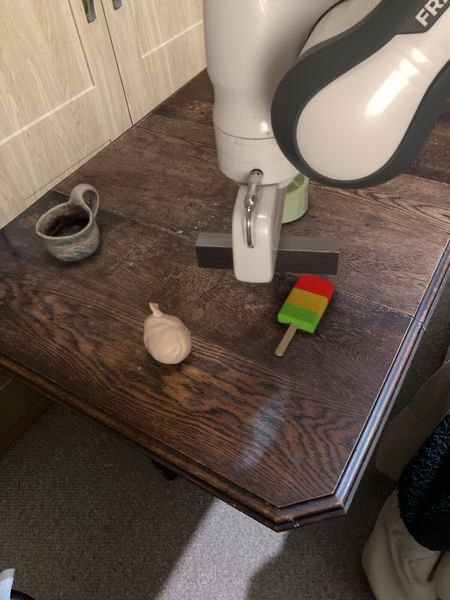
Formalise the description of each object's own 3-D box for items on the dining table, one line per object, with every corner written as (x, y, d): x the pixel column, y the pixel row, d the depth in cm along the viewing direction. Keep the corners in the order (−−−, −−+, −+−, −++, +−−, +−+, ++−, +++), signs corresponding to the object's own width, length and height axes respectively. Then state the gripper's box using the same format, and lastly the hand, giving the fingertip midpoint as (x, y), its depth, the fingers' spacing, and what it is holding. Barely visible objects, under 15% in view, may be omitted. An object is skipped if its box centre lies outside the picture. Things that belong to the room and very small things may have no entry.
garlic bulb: (195, 333, 70) (186, 295, 65) (194, 370, 66) (185, 333, 60) (149, 337, 71) (136, 299, 65) (146, 374, 66) (132, 337, 61)
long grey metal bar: (337, 260, 57) (339, 237, 54) (336, 275, 55) (339, 252, 53) (202, 254, 60) (199, 231, 57) (198, 267, 58) (194, 245, 56)
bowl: (309, 191, 91) (310, 162, 87) (305, 227, 84) (306, 198, 80) (253, 189, 93) (251, 161, 89) (244, 225, 86) (241, 196, 82)
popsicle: (336, 290, 74) (337, 281, 72) (297, 365, 65) (297, 357, 64) (301, 280, 76) (301, 271, 74) (259, 352, 67) (258, 343, 66)
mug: (38, 264, 84) (14, 217, 77) (78, 220, 92) (60, 173, 84) (86, 275, 81) (66, 227, 74) (123, 228, 89) (108, 180, 81)
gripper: (286, 212, 39) (286, 324, 49) (303, 94, 52) (301, 201, 63) (208, 210, 40) (224, 320, 50) (245, 95, 54) (252, 200, 64)
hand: (267, 253), depth 56 cm, fingers closed on long grey metal bar, 2 cm apart
